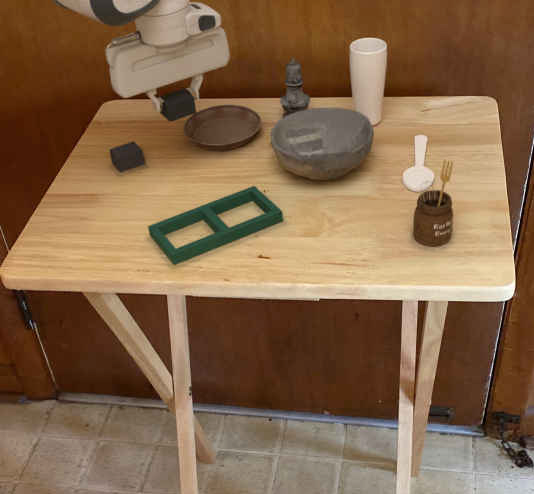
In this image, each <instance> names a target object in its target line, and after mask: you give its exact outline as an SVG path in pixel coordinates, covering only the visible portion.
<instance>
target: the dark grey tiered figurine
mask: <svg viewBox="0 0 534 494" xmlns="http://www.w3.org/2000/svg"><path fill="white" fill-rule="evenodd" d="M303 83H304V78H302V65H301V64H300V63H299V62H298V61H295V59H294V58H293V57H292V58H291V59H290V61H289V62H287V64H286V65H285V80H284V84H285V86H286V87H285V88H286V93H285V94H284V95H282V96H281V97H280V99H279V103H280V105H281V106H282V109H283V111H284V113H283V114H282V118H284V117H286V116H288V115H290V114H293V113H296V112H299V111H303V110H307V109H309V108H308V107H309V105H310V102H311V97H310V95H309V94H307V93H305V92H304V91H303Z"/></svg>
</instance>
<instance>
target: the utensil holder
mask: <svg viewBox="0 0 534 494" xmlns="http://www.w3.org/2000/svg"><path fill="white" fill-rule="evenodd" d="M446 162H447V163H446ZM453 165H454V162H453V161H451V162H450V160H447V159H444V160H443V163H442V166H441V167H442V168H441V171H440V175H439V179H440V180H441V183H442V184H441V188H440V190H439V189H437V186H436V183H435V182H433V184H432V185H431V187H432V189H428V190H424V191H421V190H422V185H421V188H420V192H419V195H418V197H417V202H416V207H415V209H414V213H413V224H412V225H413V227H412V229H413V230H412V232H413V238H414V239H415V240H416V242H418V243H419V244H420V245H424V246H425V247H426V246H427V247H439V246H442V245H444V244H446V243H448V242H449V241H450V239H451V236H452V232H453V222H454V211H453V200H452V197H451V196H450V194H448V193H447V192H445V191H444V190H445V185H446V183H448V182H450V181H451V176H452V170H453ZM427 183H429V181H428V182H427V181H426V185H425V186H426V188H427ZM431 183H432V181H431ZM424 184H425V183H424ZM429 184H430V183H429ZM433 185H434V186H433ZM428 187H429V185H428ZM424 188H425V187H424ZM429 188H430V187H429Z"/></svg>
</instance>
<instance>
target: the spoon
mask: <svg viewBox="0 0 534 494" xmlns="http://www.w3.org/2000/svg"><path fill="white" fill-rule="evenodd" d="M428 140H429V139H428V136H427V135H424V134H418V135H415V136H414V165H413V166H410V167H409V168H407V169H405V171H403V174H402V183H403V185H404V186H405V187H406V188H407V189H408V190H410V191H412V192H415V193H416V192H417V193H420V188H421V185H422V190H421V192H425V191H427V190H429V189H430V187H432V185H434V184H433V183H435V173H434V171H433V170H432V169H430V168H428V167H426V166H424V165H425V159H426V154H427V147H428V142H429V141H428ZM426 181H427V182H428V181H429V183H430V184H429V183H427V188H426V186H425V185H426ZM431 181H432V183H431ZM424 183H425V184H424ZM428 185H429V187H428ZM424 187H425V188H424Z"/></svg>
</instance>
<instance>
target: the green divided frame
mask: <svg viewBox="0 0 534 494" xmlns="http://www.w3.org/2000/svg"><path fill="white" fill-rule="evenodd" d="M250 202H253V203H254V204H255V205H256V206H258V207H259V208H260V210H262V211H263V212H264V213H262V214H260V215H257V216H254V217H251V218H249V219H247V220H245V221H242V222H240V223H237V224H234V225H232V226H229V225H227V223H225V222H224V220H222V218H221V217H220V216H219V214H222V213H224V212H227V211H230V210H232V209H235V208H238V207H240V206H243V205H245V204H248V203H250ZM201 221H203V222H204V223H205V224H206V225H207V226H208V228H210V229H211V230H212V231H213V232H214V233H211V234H209V235H206V236H204V237H202V238H199V239H197V240H194V241H191V242H189V243H187V244H183V245H181V246H179V247H175V245H173V244H172V242H171V241H170V240H169V239H168V238H167V236H165V235H168V234H171V233H173V232H176V231H178V230H181V229H183V228H186V227H189V226H191V225H194V224H196V223H199V222H201ZM283 221H284V218H283V210H282V209H281V208H280V207H278V206H277V205H276V204H275V203H274V202H273V201H272V200H271V199H270V198H268V197H267V196H266V195H265V194H264V193H263V192H262V191H261V190H259V189H258V187H257V186H255V185H252V186H249V187H247V188H244V189H242V190H239V191H237V192H234V193H232V194H229V195H226V196H224V197H221V198H218V199H215V200H213V201H210V202H208V203H205V204H202V205H200V206H197V207H194V208H192V209H189V210H187V211H184V212H182V213H178V214H176V215H173V216H171V217H169V218H166V219H163V220H161V221H157V222H155V223H152V224H150V225H148V226H147V228H148V233H149V237H150V238H151V239H152V240H153V241H154V243H155V244H156V245H157V246H158V247H159V249H160V250H161V251H162V252H163V253H164V255H165V256H166V257H167V258H168V260H169V261H170V262H171V264H173V265H174V266H176V265H177V264H180V263H183V262H185V261H187V260H189V259H192V258H195V257H198V256H200V255H203V254H205V253H207V252H209V251H212V250H215V249H217V248H220V247H222V246H224V245H228V244H230V243H232V242H235V241H237V240H240V239H243V238H245V237H247V236H249V235H252V234H255V233H257V232H259V231H262V230H265V229H268V228H269V227H271V226H275V225H277V224H279V223H283Z"/></svg>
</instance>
